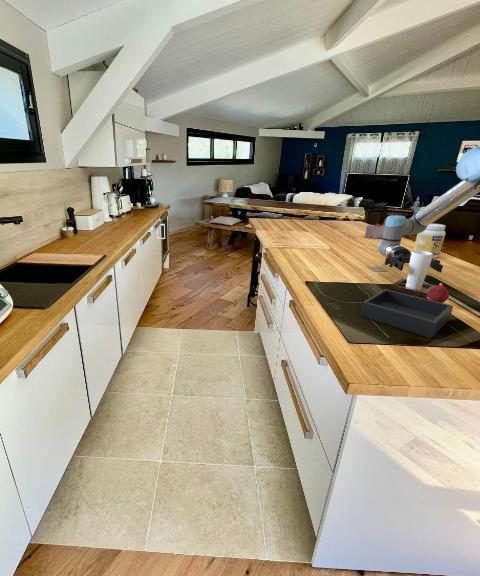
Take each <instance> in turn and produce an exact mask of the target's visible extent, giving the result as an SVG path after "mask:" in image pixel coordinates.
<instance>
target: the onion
mask: <svg viewBox="0 0 480 576" xmlns="http://www.w3.org/2000/svg"><path fill="white" fill-rule="evenodd" d="M427 297H428V300H432V301H436V302H440V303H445V302H446V301H448V299H449V297H450V292H449V290H448V289H447V287H445V286H444V284H443V283H442V282H440V283H439V284H438V285H436V286H435V287H433V288H431V289H430V290H429V292H428V296H427Z"/></svg>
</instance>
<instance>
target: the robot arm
mask: <svg viewBox="0 0 480 576" xmlns="http://www.w3.org/2000/svg"><path fill="white" fill-rule="evenodd" d="M455 172H456V176H457V177H458V178H459V179H460V180H461V181H460V182H459V183H457V184H455V185H454V186H453V187H451V188H450V189H448V190H447V191H446V192H444V193H443V194H442V195H440V196H439V197H438V198H436V199H435V200H433V201H432V202H430V203H429V204H428V205H426V206H425V207H424V208H422V209H420V210H419V211H417V212H416V213H415V214H414V215H412V216H411V217H409V218H407V217H406V216H404V215H396V214H395V215H388V216H387V217H386V221H385V224H384V226H385V229H384V234H383V239H381V241H379V243H378V244H377V251H378V253H380V255H381V256H383V257H385V260H384V265H385V266H389V268H393V267H394V268H396V269H397V270H398V271H400V272H402V271H404V265H405V264H409V262H410V257H411V254H412V251H411V250H410V249H408V248H406V247H405V246H403V245H401V241H402V239H403V236H409V235H417V234H418V233H421V232H423V231H425V229H426V228H427V226H428V225H430V224H434V222H436V221H437V220H439V219H440V218H442V217H443V216H445V215H447V214H448V213H450V212H451V211H453V210H454V209H456V208H457V207H459V206H461V205H462V204H463V203H465V202H467V201H468V200H470V199H471V198H473V197H474V196H476V195H478V194H479V193H480V146H475V147H472V148H470V149H469V150H467V151H466V152H465V153H463V155H462V156H460V158H459V160H458V162H457V164H456V167H455ZM429 267H430V268H431V269H433V270H434V271H436V272H438V273H442V271H443V267H444V265H443V264H441V260H440V259H437V258H432V260H431V264H430V266H429Z"/></svg>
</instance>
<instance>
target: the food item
mask: <svg viewBox="0 0 480 576" xmlns="http://www.w3.org/2000/svg"><path fill="white" fill-rule="evenodd" d="M384 229H385V225H382V224H381V223H375V224H368V225H366V229H365V230H366V231H365V234H364V238H369V239H378V240H379V239H380V240H382V239H383V234H384Z"/></svg>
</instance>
